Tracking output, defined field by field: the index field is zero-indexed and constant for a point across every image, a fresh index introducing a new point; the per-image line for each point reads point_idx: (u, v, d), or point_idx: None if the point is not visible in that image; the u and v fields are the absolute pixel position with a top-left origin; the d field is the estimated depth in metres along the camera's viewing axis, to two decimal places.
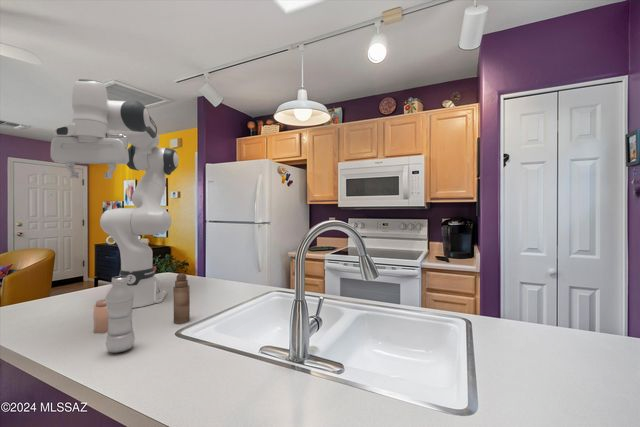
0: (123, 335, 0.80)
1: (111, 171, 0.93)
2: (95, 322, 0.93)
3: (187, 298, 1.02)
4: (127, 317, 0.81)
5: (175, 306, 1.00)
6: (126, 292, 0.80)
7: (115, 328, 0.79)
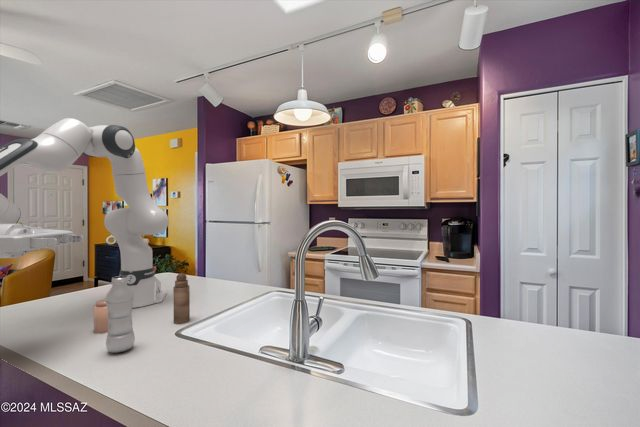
0: (123, 335, 0.80)
1: (44, 243, 0.73)
2: (95, 322, 0.93)
3: (187, 298, 1.02)
4: (127, 317, 0.81)
5: (175, 306, 1.00)
6: (126, 292, 0.80)
7: (115, 328, 0.79)
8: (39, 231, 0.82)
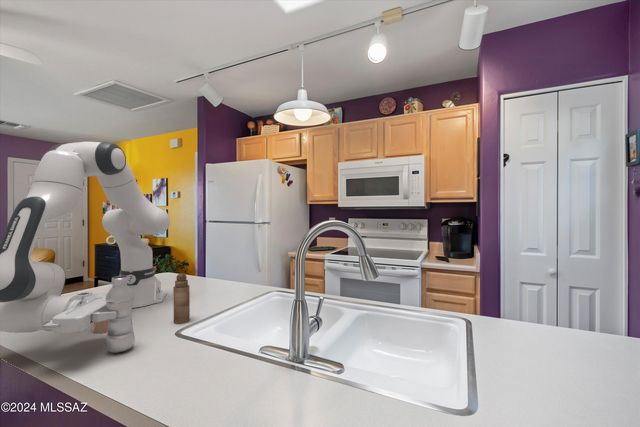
0: (123, 335, 0.80)
1: (105, 317, 0.76)
2: None
3: (187, 298, 1.02)
4: (127, 317, 0.81)
5: (175, 306, 1.00)
6: (126, 292, 0.80)
7: (115, 328, 0.79)
8: (91, 298, 0.85)
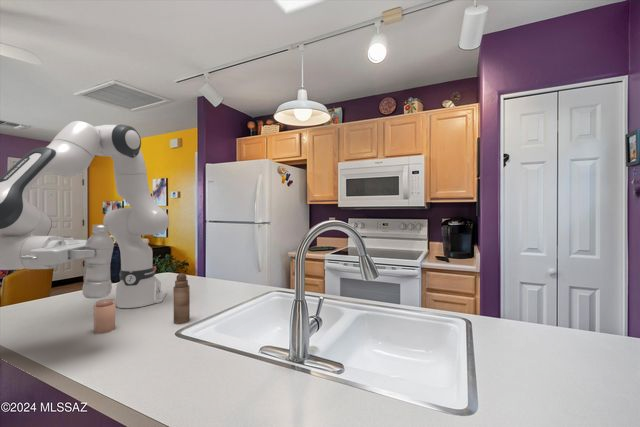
0: (99, 282, 0.80)
1: (83, 255, 0.77)
2: (95, 322, 0.93)
3: (187, 298, 1.02)
4: (105, 265, 0.81)
5: (175, 306, 1.00)
6: (106, 240, 0.81)
7: (92, 274, 0.80)
8: (72, 242, 0.86)
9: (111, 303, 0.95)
